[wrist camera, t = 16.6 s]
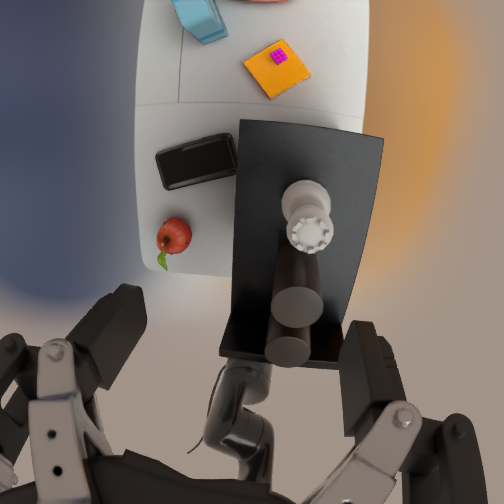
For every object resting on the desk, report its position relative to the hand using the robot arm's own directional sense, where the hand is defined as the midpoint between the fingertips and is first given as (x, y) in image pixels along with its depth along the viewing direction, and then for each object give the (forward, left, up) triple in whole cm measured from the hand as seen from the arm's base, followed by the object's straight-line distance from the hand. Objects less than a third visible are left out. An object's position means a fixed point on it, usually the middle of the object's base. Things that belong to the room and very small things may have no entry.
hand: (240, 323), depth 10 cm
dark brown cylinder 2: (-7, -9, -17) cm, 21 cm away
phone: (-10, +12, -42) cm, 44 cm away
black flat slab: (-1, -5, -18) cm, 19 cm away
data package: (+13, +29, -42) cm, 52 cm away
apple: (-23, +6, -42) cm, 48 cm away
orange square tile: (+12, +12, -42) cm, 45 cm away
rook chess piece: (+2, -2, -17) cm, 18 cm away
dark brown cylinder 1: (-3, -6, -17) cm, 18 cm away
